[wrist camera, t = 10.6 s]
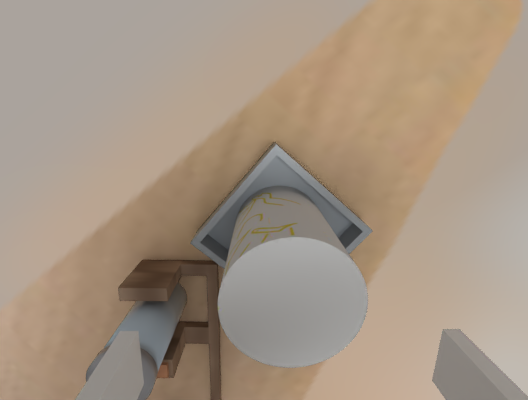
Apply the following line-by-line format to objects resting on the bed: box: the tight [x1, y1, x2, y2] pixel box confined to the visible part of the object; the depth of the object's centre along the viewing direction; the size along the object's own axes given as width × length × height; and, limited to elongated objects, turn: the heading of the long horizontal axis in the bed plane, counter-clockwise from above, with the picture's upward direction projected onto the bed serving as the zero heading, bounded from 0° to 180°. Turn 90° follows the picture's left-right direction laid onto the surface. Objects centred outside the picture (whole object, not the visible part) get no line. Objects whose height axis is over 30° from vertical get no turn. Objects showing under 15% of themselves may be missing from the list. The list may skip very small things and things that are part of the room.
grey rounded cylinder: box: [86, 282, 187, 400], centre depth 25 cm, size 5×5×10 cm
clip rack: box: [118, 260, 221, 400], centre depth 30 cm, size 8×28×5 cm, turn 179°
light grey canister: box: [218, 186, 368, 368], centre depth 21 cm, size 8×8×12 cm
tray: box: [191, 142, 372, 269], centre depth 26 cm, size 11×11×3 cm
